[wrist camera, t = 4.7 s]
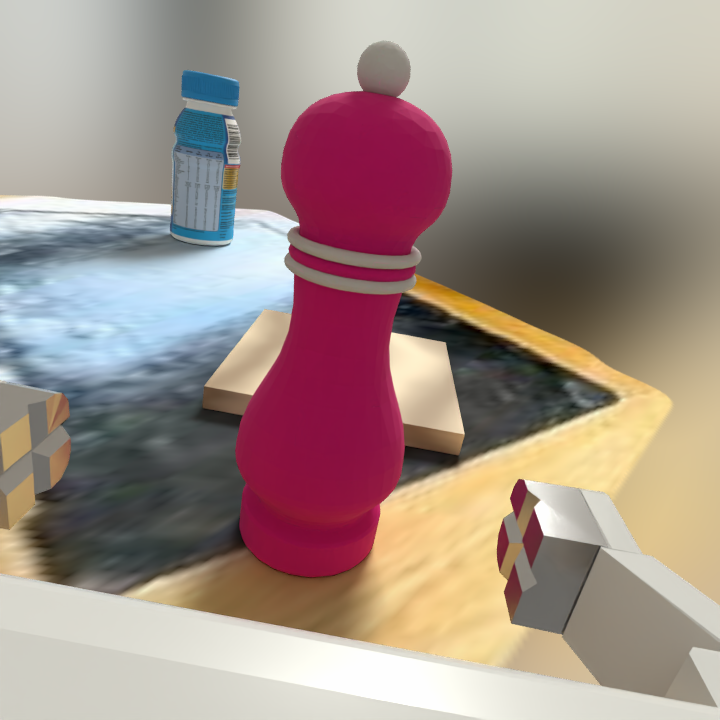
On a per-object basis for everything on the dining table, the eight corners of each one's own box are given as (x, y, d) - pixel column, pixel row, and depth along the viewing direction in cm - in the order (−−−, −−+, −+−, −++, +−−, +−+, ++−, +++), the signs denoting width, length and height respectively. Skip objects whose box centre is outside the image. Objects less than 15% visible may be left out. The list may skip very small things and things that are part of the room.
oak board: (202, 407, 34) (203, 386, 33) (262, 325, 49) (264, 309, 48) (458, 455, 34) (464, 434, 33) (441, 358, 49) (445, 342, 48)
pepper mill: (375, 606, 22) (512, 42, 14) (201, 565, 23) (245, -5, 15) (390, 499, 29) (489, 73, 21) (256, 468, 29) (306, 41, 22)
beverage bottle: (179, 246, 69) (186, 68, 62) (161, 230, 75) (166, 67, 68) (243, 248, 74) (257, 83, 66) (221, 233, 80) (232, 80, 72)
